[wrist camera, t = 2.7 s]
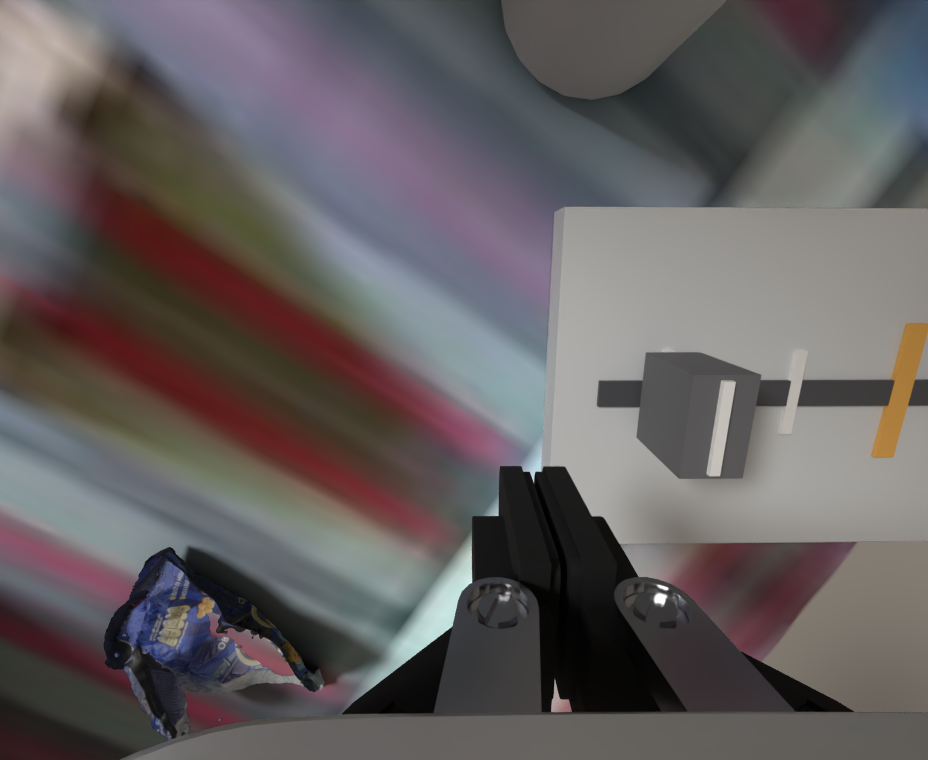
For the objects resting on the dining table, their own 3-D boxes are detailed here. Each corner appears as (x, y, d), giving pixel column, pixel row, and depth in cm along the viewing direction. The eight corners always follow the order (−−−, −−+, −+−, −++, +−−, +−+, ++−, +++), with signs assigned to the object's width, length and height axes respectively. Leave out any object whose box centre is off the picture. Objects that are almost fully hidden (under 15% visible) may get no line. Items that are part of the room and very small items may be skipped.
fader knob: (645, 352, 19) (696, 376, 15) (700, 352, 19) (765, 376, 15) (636, 437, 20) (681, 481, 16) (687, 437, 20) (746, 480, 16)
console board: (554, 212, 20) (576, 201, 16) (1026, 213, 20) (1147, 203, 17) (538, 522, 24) (552, 567, 21) (930, 518, 25) (1011, 562, 21)
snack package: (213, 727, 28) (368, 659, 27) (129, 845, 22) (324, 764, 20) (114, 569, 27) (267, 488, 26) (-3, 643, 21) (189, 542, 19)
